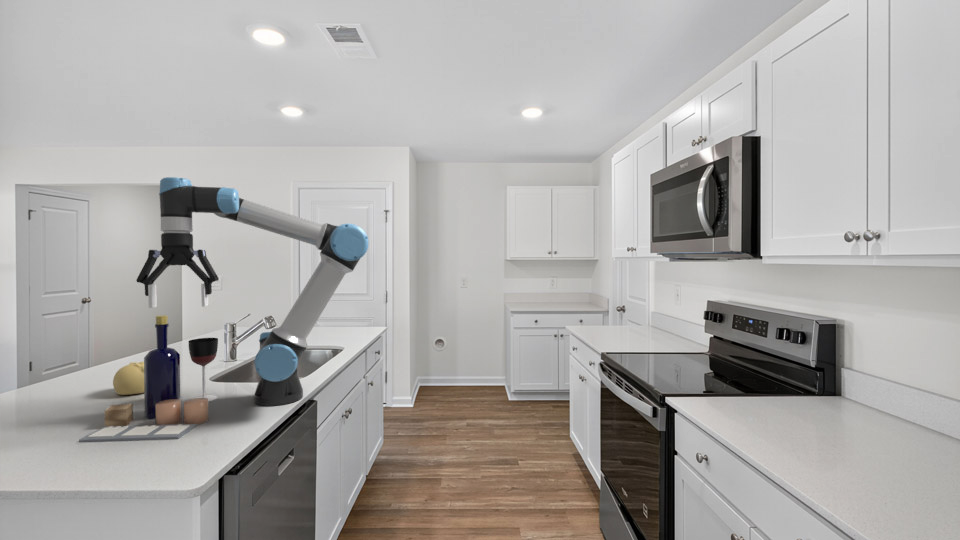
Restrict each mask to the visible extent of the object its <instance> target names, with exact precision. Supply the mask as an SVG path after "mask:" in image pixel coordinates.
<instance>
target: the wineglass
mask: <svg viewBox="0 0 960 540" xmlns="http://www.w3.org/2000/svg"><path fill="white" fill-rule="evenodd" d="M218 346H219V338H218V337H202V338H201V337H199V338H194V339H190V340H188V352H189V357H190V360H191V362H192V363H194V364H196V365H199V366H200V367H202V368H201V369H202V382H201V383H202V396H201V395H200V396H196V397H195V398H208V402H211V401H214V400H216V399H217V398H218V397H217V396H216V395H208V394H207V395H206V366H207V365H209V364H210V363H212V362H213V361H214V360H215V359H216V357H217V354H218V353H217V352H218Z"/></svg>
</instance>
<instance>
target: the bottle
mask: <svg viewBox="0 0 960 540" xmlns="http://www.w3.org/2000/svg"><path fill="white" fill-rule="evenodd" d="M168 317H169V316H168V315H166V314H165V315H156V316H155V325H154V328H155V330H156V331H155V333H156V348H154V349H152V350H151V349H150V350H149V352H148V353H146V355H145V356H144V358H143V362H144V394H143V395H144V403H143V404H144V416H143V417H144V418H146V419H148V420H156V403H158V402H161V401H165V400H171V399H179V400H181V354H180V353H179V352H178V351H177V350H176V349H175V348H172V347H168V327H169V323H168V321H169V320H168V319H169V318H168Z"/></svg>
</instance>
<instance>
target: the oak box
mask: <svg viewBox="0 0 960 540" xmlns="http://www.w3.org/2000/svg"><path fill="white" fill-rule="evenodd" d="M133 420H134V404H133V402H132V403H131V402H130V403H123V404H112V405H110V406H109V407H108V408H106V409H105V410H104V427H105V426H129V424H131V423H132V422H133Z"/></svg>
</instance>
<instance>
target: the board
mask: <svg viewBox="0 0 960 540" xmlns="http://www.w3.org/2000/svg"><path fill="white" fill-rule="evenodd" d="M196 427H197V424H184V423H179V424H172V425H156V424H144V425H127V426H105V425H104V426H103V427H100V429H97V430H96V431H94V432H93V431H92V432H91V433H89V434H88V435H87V434H86V436H84V437H81V438H80V439H78V442H79V443H87V442H88V443H90V442H91V443H93V442H94V443H96V442H117V441H118V442H123V441H126V442H127V441H149V440H151V441H152V440H179V439H180V438H182V437H183V436H184V435H186V434H188V433H189V432H190V431H191V430H193V429H194V428H196Z"/></svg>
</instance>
